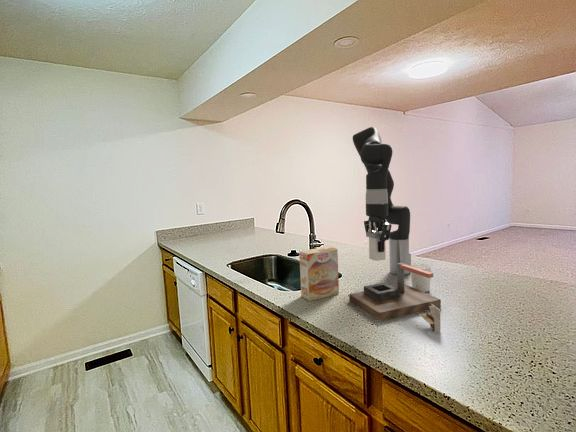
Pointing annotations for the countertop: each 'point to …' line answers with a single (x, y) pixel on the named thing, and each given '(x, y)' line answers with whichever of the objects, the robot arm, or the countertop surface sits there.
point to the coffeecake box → (319, 273)
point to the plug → (375, 247)
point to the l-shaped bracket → (402, 267)
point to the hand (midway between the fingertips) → (377, 250)
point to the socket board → (392, 301)
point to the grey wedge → (433, 318)
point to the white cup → (421, 278)
